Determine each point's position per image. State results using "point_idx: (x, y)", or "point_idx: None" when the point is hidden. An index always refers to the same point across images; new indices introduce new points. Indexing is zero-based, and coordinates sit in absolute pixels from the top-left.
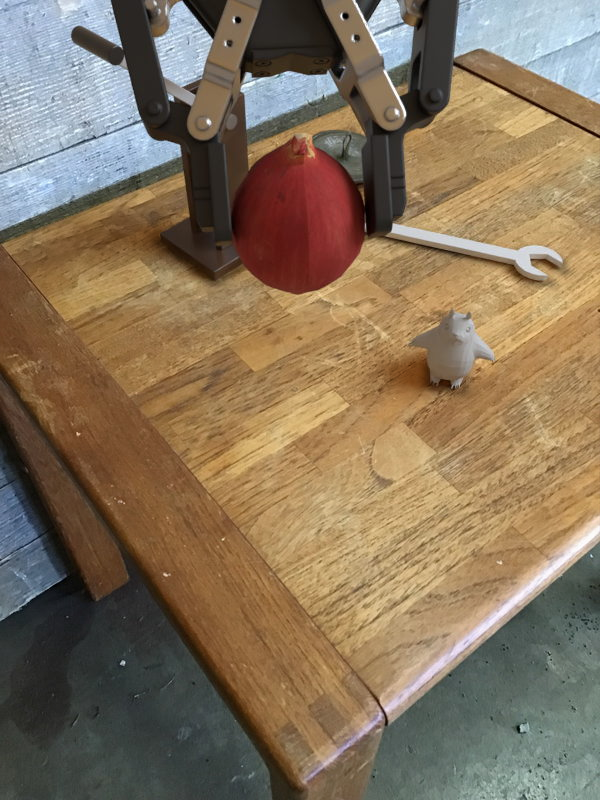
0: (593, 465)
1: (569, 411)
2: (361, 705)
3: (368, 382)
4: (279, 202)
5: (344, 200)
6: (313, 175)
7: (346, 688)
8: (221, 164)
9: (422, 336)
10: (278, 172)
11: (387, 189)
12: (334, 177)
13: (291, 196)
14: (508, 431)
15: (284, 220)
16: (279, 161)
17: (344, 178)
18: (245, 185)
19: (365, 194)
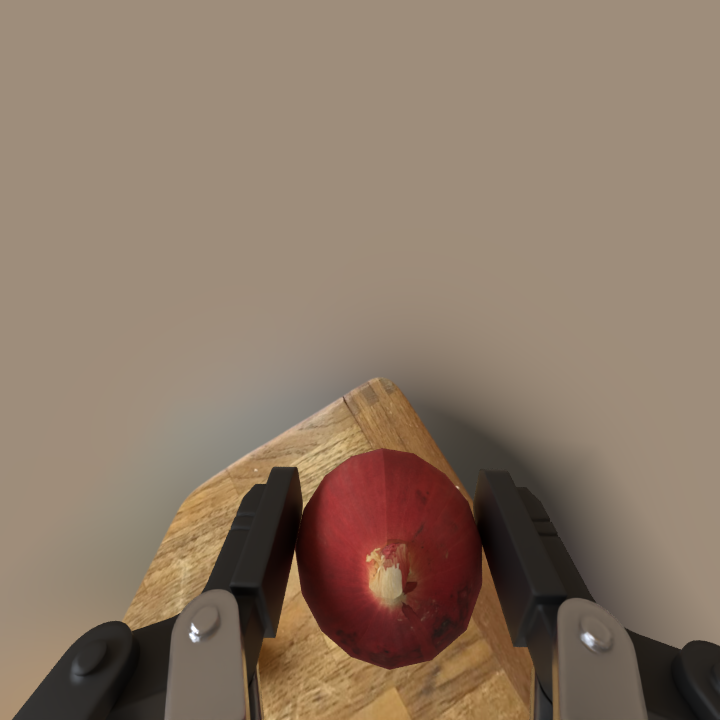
0: (164, 537)
1: (154, 594)
2: (352, 398)
3: (299, 655)
4: (423, 490)
5: (328, 502)
6: (372, 520)
7: (358, 407)
8: (526, 556)
9: None
10: (427, 536)
11: (264, 502)
12: (337, 533)
13: (406, 492)
14: (208, 579)
15: (415, 471)
16: (426, 558)
17: (320, 545)
18: (472, 559)
19: (291, 552)
